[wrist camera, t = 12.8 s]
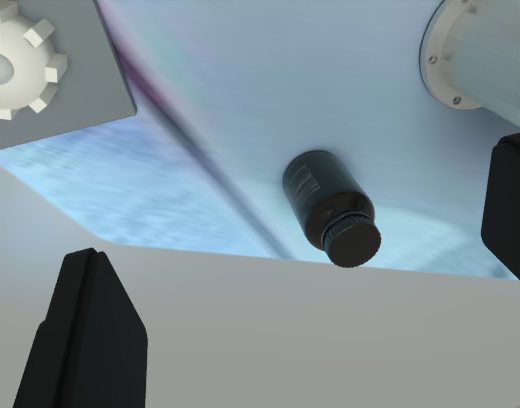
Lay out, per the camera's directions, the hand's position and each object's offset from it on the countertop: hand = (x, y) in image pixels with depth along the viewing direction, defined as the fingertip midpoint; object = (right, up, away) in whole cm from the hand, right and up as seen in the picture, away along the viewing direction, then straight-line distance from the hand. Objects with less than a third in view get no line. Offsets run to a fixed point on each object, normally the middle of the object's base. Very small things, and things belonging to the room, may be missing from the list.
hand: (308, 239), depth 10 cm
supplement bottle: (+5, +4, +36) cm, 36 cm away
